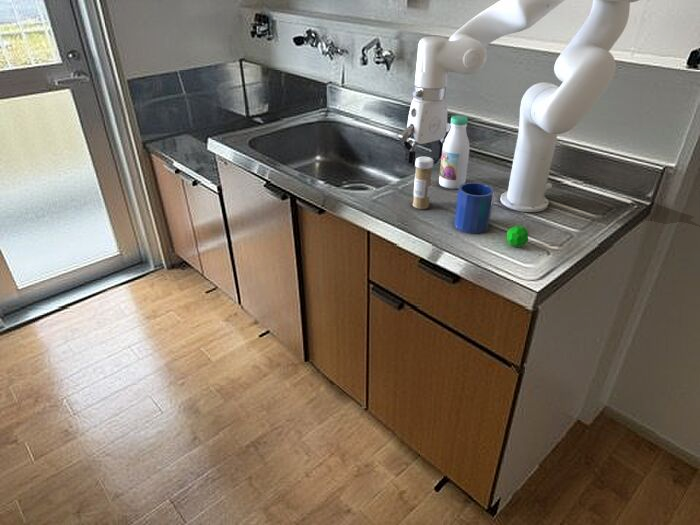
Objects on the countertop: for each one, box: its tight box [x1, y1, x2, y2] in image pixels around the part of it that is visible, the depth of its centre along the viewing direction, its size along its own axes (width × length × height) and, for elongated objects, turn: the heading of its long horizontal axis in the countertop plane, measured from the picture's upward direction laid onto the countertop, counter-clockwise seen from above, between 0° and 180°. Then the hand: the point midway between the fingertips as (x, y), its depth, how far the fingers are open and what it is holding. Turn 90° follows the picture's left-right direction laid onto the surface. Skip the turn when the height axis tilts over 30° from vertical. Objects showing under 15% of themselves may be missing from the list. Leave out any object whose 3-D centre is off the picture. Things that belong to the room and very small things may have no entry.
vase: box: [453, 181, 495, 235], centre depth 122 cm, size 8×8×10 cm
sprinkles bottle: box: [412, 156, 434, 210], centre depth 131 cm, size 5×5×14 cm
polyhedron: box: [506, 225, 529, 248], centre depth 115 cm, size 5×5×5 cm
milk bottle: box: [438, 114, 470, 190], centre depth 142 cm, size 8×8×20 cm
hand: (422, 161), depth 128 cm, fingers open, 9 cm apart
